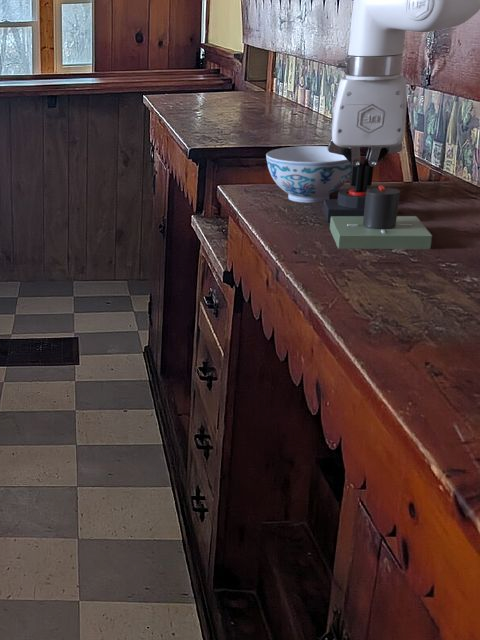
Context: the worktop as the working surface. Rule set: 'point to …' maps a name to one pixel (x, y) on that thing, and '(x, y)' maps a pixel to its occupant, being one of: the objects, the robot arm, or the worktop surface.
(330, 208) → the switch block
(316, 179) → the chinaware
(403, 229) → the console
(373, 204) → the dark grey cylinder
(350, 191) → the button
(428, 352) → the worktop surface
